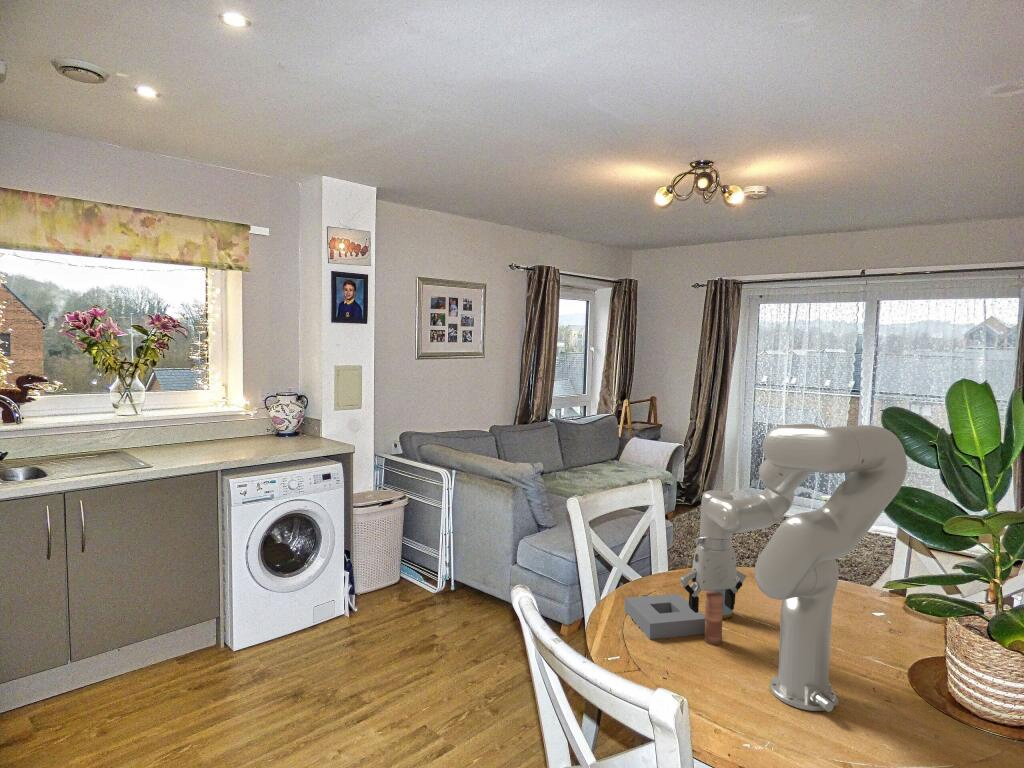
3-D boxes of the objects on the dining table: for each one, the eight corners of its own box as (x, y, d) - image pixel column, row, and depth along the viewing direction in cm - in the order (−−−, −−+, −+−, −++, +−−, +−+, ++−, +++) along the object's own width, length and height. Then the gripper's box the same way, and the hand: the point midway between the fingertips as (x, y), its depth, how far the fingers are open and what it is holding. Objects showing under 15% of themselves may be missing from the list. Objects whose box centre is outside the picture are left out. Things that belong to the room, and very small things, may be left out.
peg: (724, 644, 151) (726, 596, 150) (709, 646, 150) (711, 597, 149) (715, 637, 155) (717, 590, 154) (701, 638, 154) (702, 591, 153)
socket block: (708, 633, 156) (708, 618, 156) (649, 639, 153) (650, 623, 153) (678, 607, 172) (678, 593, 172) (624, 612, 168) (624, 598, 168)
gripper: (690, 549, 145) (687, 618, 147) (755, 545, 149) (751, 613, 151) (675, 538, 153) (672, 604, 154) (738, 535, 156) (734, 599, 158)
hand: (711, 608), depth 152 cm, fingers open, 9 cm apart
